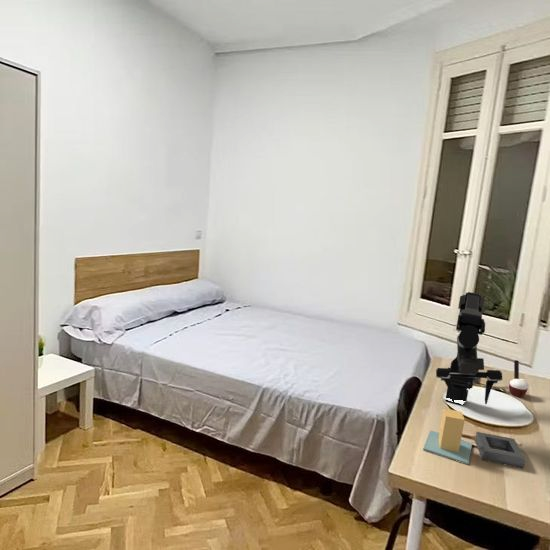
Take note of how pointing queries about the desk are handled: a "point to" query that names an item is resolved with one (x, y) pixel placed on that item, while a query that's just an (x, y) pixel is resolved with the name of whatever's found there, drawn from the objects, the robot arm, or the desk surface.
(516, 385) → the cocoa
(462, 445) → the rubber mat
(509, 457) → the square-hole plate
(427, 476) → the desk surface
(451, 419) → the ochre square block
